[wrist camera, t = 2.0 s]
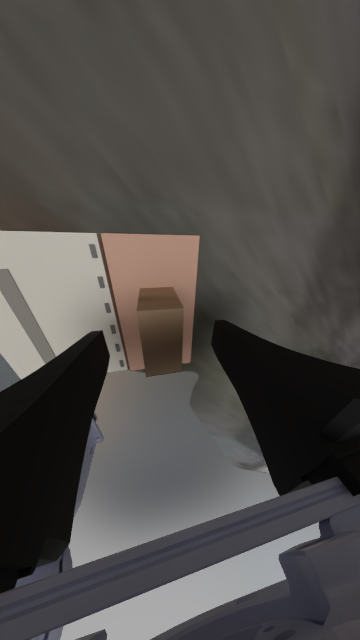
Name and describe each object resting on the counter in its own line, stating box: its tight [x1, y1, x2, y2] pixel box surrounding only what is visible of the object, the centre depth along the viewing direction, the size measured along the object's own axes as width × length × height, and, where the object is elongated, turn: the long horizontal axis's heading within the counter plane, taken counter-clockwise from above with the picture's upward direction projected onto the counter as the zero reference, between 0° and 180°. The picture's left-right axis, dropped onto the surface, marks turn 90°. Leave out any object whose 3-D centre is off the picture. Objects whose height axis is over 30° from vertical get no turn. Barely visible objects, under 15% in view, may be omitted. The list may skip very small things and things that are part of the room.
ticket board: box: [0, 231, 129, 380], centre depth 12 cm, size 12×9×2 cm
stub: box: [101, 233, 200, 377], centre depth 11 cm, size 12×6×6 cm, turn 179°
